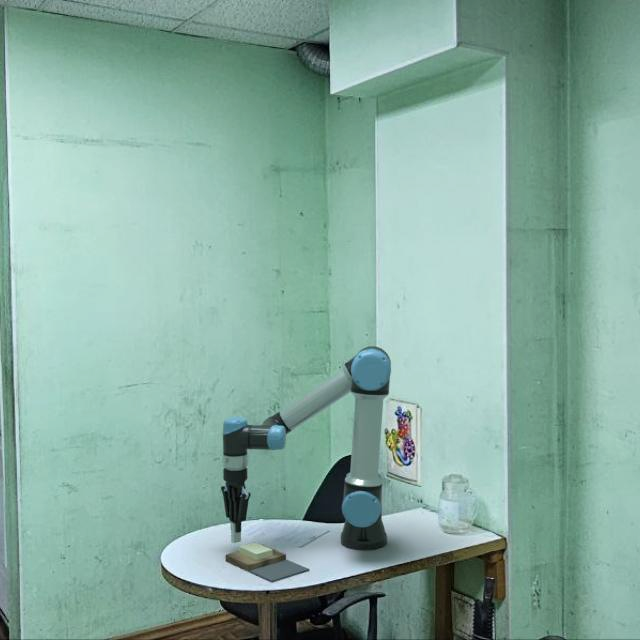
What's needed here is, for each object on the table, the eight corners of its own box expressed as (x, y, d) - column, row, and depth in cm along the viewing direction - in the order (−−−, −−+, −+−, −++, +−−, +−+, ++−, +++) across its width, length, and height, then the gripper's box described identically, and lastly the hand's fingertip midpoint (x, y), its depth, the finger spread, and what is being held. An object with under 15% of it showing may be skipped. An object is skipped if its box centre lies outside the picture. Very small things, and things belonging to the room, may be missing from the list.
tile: (239, 552, 256) (239, 546, 256) (254, 548, 260) (254, 542, 260) (256, 560, 249) (256, 554, 249) (272, 556, 253) (272, 549, 253)
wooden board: (262, 550, 264) (262, 544, 264) (286, 560, 255) (286, 554, 255) (225, 561, 255) (225, 554, 255) (248, 571, 246) (248, 565, 246)
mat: (287, 561, 254) (287, 559, 254) (309, 570, 247) (309, 568, 247) (249, 572, 245) (249, 570, 245) (271, 582, 237) (271, 580, 237)
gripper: (213, 465, 263) (214, 539, 265) (237, 473, 254) (238, 549, 255) (233, 462, 268) (234, 534, 270) (257, 469, 258) (258, 544, 260)
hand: (236, 541), depth 262 cm, fingers closed
